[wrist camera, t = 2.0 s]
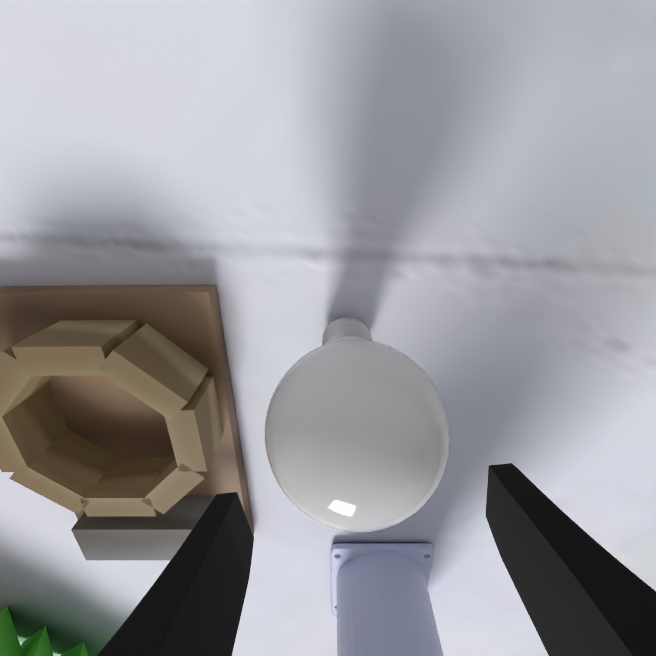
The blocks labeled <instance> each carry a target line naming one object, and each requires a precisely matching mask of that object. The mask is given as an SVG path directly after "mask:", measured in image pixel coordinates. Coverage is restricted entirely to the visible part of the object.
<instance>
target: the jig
mask: <svg viewBox="0 0 656 656" xmlns="http://www.w3.org/2000/svg"><path fill="white" fill-rule="evenodd" d="M0 469H1V471H2V472H14V473H13V475H12V476H11V477H10V479H11V480H13V481H15V482H17V483H19V484H21V485H23V486H25V487H27V488H29V489H31V490H33V491H34V492H36V493H38V494H40V495H42V496H44V497H46V498H48V499H50V500H52V501H54V502H56V503H57V504H59V505H61V506H63V507H65V508H67V509H69V510H71V511H73V512H75V514H76V516H77V518H78V521H77V523H76V524H75V525H74V527H73V528H72V529H71V530H72V532H73V534H74V536H75V538H76V540H77V542H78V544H79V546H80V548H81V550H82V552H83V555H84V557H85V559H86V560H171V559H172V558H173V557H174V555H175V554H176V552H177V551H178V550H179V548H180V547H181V545H182V544H183V542H184V541H185V540H186V538H187V537H188V535H189V534H190V532H191V531H192V529H193V528H194V526H195V525H196V523H197V522H198V520H199V519H200V517H201V516H202V515H203V513H204V512H205V510H206V509H207V507H208V506H209V504H210V503H211V501H212V500H213V498H214V497H215V496H216V495H217V494H222V493H231V492H237V493H238V496H239V499H240V501H241V504H242V507H243V509H244V512H245V515H246V517H247V520H248V523H249V525H250V528H251V531H252V533H253V534H254V529H253V523H252V516H251V510H250V503H249V497H248V490H247V484H246V477H245V471H244V464H243V458H242V451H241V445H240V438H239V432H238V425H237V419H236V412H235V406H234V399H233V393H232V386H231V380H230V373H229V367H228V360H227V354H226V347H225V341H224V334H223V328H222V321H221V315H220V308H219V302H218V295H217V289H216V285H134V286H22V287H0Z"/></svg>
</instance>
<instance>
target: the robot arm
mask: <svg viewBox="0 0 656 656" xmlns="http://www.w3.org/2000/svg"><path fill="white" fill-rule="evenodd" d="M486 518H487V520H488V523H489V526H490V529H491V532H492V534H493V537H494V540H495V542H496V545H497V548H498V550H499V553H500V555H501V558H502V560H503V562H504V564H505V566H506V568H507V570H508V572H509V575H510V577H511V579H512V581H513V583H514V585H515V587H516V589H517V591H518V593H519V595H520V597H521V599H522V601H523V603H524V606H525V608H526V610H527V612H528V614H529V616H530V618H531V620H532V622H533V624H534V626H535V628H536V630H537V632H538V634H539V636H540V638H541V640H542V642H543V645H544V647H545V649H546V651H547V653H548V655H549V656H656V591H655V590H653V589H652V588H651V587H650V586H648V585H647V584H646V583H645V582H643V581H642V580H641V579H640V578H639V577H637V576H636V575H635V574H634V573H633V572H631V571H630V570H629V569H628V568H626V567H625V566H624V565H623V564H622V563H620V562H619V561H618V560H617V559H616V558H615V557H613V556H612V555H611V554H610V553H609V552H608V551H606V550H605V549H604V548H603V547H602V546H601V545H599V544H598V543H597V542H596V541H595V540H594V539H593V538H592V537H590V536H589V535H588V534H587V533H586V532H585V531H584V530H583V529H581V528H580V527H579V526H578V525H577V524H576V523H575V522H574V521H572V520H571V519H570V518H569V517H568V516H567V515H566V514H565V513H564V512H563V511H562V510H560V509H559V508H558V507H557V506H556V505H555V504H554V503H553V502H552V501H551V500H550V499H549V498H548V497H547V496H546V495H544V494H543V493H542V492H541V491H540V490H539V489H538V488H537V487H536V486H535V485H534V484H533V483H532V482H531V481H530V480H529V479H528V478H527V477H526V476H525V475H524V474H523V473H522V472H521V471H520V470H519V469H518V468H516V467H515V466H514V465H513V464H512V463H510V464H501V465H491V466H489V471H488V487H487V503H486ZM253 541H254V536H253V533H252V531H251V528H250V525H249V523H248V520H247V517H246V515H245V512H244V509H243V507H242V504H241V501H240V499H239V496H238V493H237V492H231V493H222V494H217V495H216V496H215V497H214V498H213V500H212V501H211V503H210V504H209V506H208V507H207V509H206V510H205V512H204V513H203V515H202V516H201V517H200V519H199V520H198V522H197V523H196V525H195V526H194V528H193V529H192V531H191V532H190V534H189V535H188V537H187V538H186V540H185V541H184V542H183V544H182V545H181V547H180V548H179V550H178V551H177V552H176V554H175V555H174V557H173V558H172V559H171V561H170V562H169V564H168V565H167V566H166V568H165V569H164V571H163V572H162V573H161V575H160V576H159V578H158V579H157V580H156V582H155V583H154V584H153V586H152V587H151V588H150V590H149V591H148V592H147V594H146V595H145V596H144V597H143V599H142V600H141V601H140V603H139V604H138V605H137V607H136V608H135V609H134V611H133V612H132V613H131V614H130V616H129V617H128V618H127V620H126V621H125V622H124V623H123V625H122V626H121V627H120V628H119V630H118V631H117V632H116V633H115V635H114V636H113V637H112V638H111V640H110V641H109V642H108V643H107V644H106V646H105V647H104V648H103V649H102V650H101V652H100V653H99V654H98V655H97V656H232V651H233V647H234V642H235V638H236V634H237V629H238V625H239V621H240V616H241V612H242V607H243V603H244V598H245V594H246V589H247V585H248V580H249V574H250V566H251V559H252V550H253ZM433 554H434V549H433V546H432V545H431V544H334V545H332V547H331V585H332V615H334V616H336V617H337V656H443V652H442V648H441V643H440V639H439V635H438V631H437V626H436V622H435V618H434V614H433V609H432V605H431V601H430V597H429V592H428V588H427V586H428V581H429V576H430V570H431V565H432V559H433Z"/></svg>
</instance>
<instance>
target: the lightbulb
mask: <svg viewBox="0 0 656 656" xmlns="http://www.w3.org/2000/svg"><path fill="white" fill-rule="evenodd" d="M265 444H266V451H267V456H268V460H269V464H270V467H271V469H272V472H273V474H274V477H275V479H276V481H277V482H278V484H279V486H280V487H281V489H282V491H283V492H284V493H285V495H286V496H287V497H288V499H289V500H290V501H291V502H292V503H293V504H294V505H295V506H296V507H297V508H298V509H299V510H300V511H302V512H303V513H304V514H306V515H307V516H308V517H310V518H311V519H313V520H315V521H317V522H319V523H321V524H323V525H325V526H328V527H330V528H333V529H337V530H341V531H347V532H372V531H378V530H382V529H386V528H389V527H392V526H394V525H396V524H398V523H400V522H402V521H404V520H406V519H407V518H409V517H410V516H412V515H413V514H414V513H416V512H417V511H418V510H419V509H420V508H421V507H422V506H423V505H424V504H425V503H426V502H427V501H428V500H429V498H430V497H431V496H432V494H433V493H434V491H435V490H436V488H437V486H438V485H439V483H440V481H441V479H442V476H443V474H444V471H445V468H446V464H447V461H448V456H449V448H450V430H449V422H448V417H447V413H446V409H445V406H444V403H443V400H442V398H441V396H440V394H439V392H438V390H437V388H436V386H435V385H434V383H433V382H432V380H431V379H430V377H429V376H428V375H427V374H426V372H425V371H424V370H423V369H422V368H421V367H420V366H419V365H418V364H417V363H416V362H415V361H413V360H412V359H411V358H410V357H408V356H407V355H405V354H404V353H402V352H400V351H399V350H397V349H395V348H393V347H390V346H388V345H385V344H382V343H379V342H375V341H372V338H371V334H370V331H369V329H368V327H367V326H366V325H365V324H364V323H363V322H361V321H360V320H358V319H355V318H350V317H344V318H339V319H337V320H335V321H333V322H331V323H330V324H329V325H328V326H327V328H326V329H325V331H324V333H323V339H322V346H320V347H318V348H316V349H314V350H312V351H310V352H309V353H307V354H306V355H304V356H303V357H302V358H300V359H299V360H298V361H297V362H296V363H295V364H293V365H292V366H291V368H290V369H289V370H288V371H287V372H286V373H285V375H284V376H283V377H282V379H281V380H280V382H279V384H278V385H277V387H276V389H275V391H274V393H273V396H272V398H271V401H270V404H269V407H268V411H267V416H266V422H265Z"/></svg>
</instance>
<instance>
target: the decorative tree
mask: <svg viewBox="0 0 656 656" xmlns="http://www.w3.org/2000/svg"><path fill="white" fill-rule="evenodd" d="M0 656H53V653H52V649H51V645H50V641H49V637H48V633H47V629H46V625H45V626H44V627H43V628H41V629H40V630H39V631H37V632H36V633H35V634H33V635H32V636H31V637H29V638H28V639H27V640H25V641H24V642H23V644H22V645H21V646H20V643H19V640H18V637H17V634H16V631H15V628H14V625H13V622H12V619H11V616H10V613H9V610H8V607H5V608H4V609H3V610H2V611H1V612H0ZM61 656H89V655H88V652H87V649H86V645H85V642H84V641H82V642H81V643H79V644H78V645H76V646H75V647H73V648H71V649H70V650H68V651H67V652H65V653H64V654H62V655H61Z"/></svg>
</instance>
